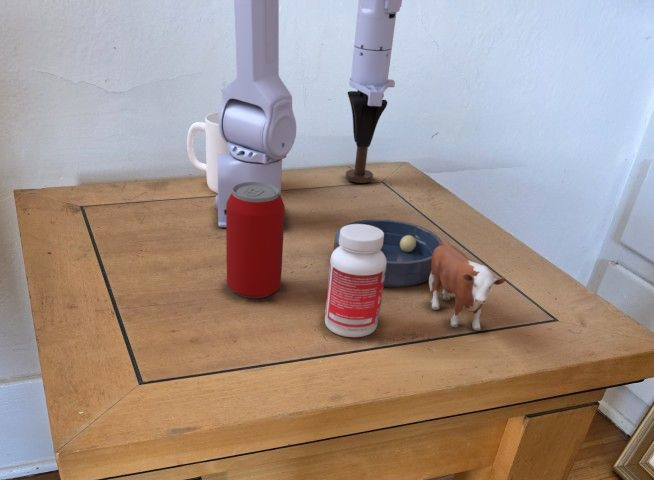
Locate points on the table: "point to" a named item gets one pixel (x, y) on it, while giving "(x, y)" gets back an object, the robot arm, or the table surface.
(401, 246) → the bead
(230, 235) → the beverage can
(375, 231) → the pill bottle
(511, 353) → the table surface
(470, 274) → the bull figurine
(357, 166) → the brown peg stand
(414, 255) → the bowl
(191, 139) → the cup
